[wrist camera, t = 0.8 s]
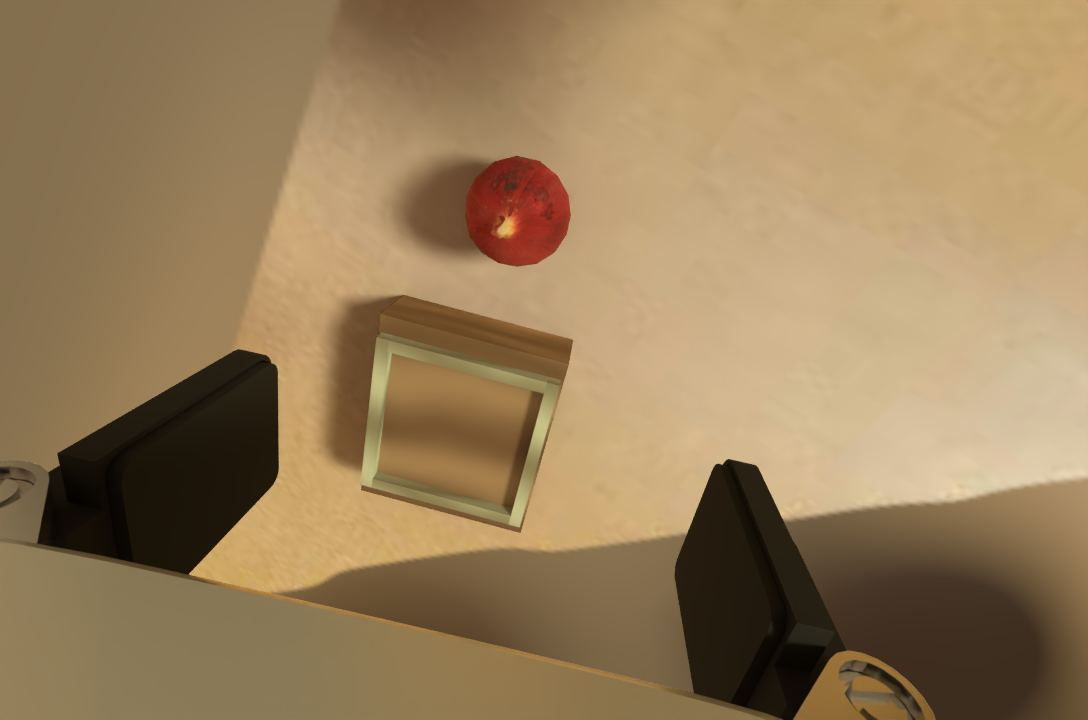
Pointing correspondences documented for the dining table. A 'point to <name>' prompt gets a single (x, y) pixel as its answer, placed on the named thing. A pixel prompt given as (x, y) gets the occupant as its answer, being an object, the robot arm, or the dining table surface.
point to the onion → (517, 211)
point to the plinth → (460, 411)
